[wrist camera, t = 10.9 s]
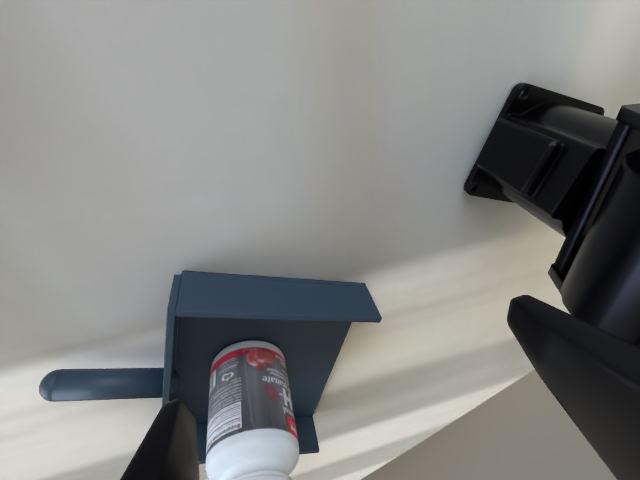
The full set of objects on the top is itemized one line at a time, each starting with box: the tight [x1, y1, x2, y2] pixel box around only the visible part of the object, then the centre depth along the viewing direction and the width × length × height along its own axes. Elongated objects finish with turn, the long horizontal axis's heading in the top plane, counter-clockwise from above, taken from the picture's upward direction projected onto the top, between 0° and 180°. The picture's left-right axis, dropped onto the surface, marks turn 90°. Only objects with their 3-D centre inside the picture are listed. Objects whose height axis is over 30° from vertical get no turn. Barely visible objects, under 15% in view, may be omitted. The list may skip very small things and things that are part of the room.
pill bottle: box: [206, 340, 299, 480], centre depth 22 cm, size 5×5×10 cm
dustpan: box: [39, 271, 382, 464], centre depth 24 cm, size 19×16×3 cm
